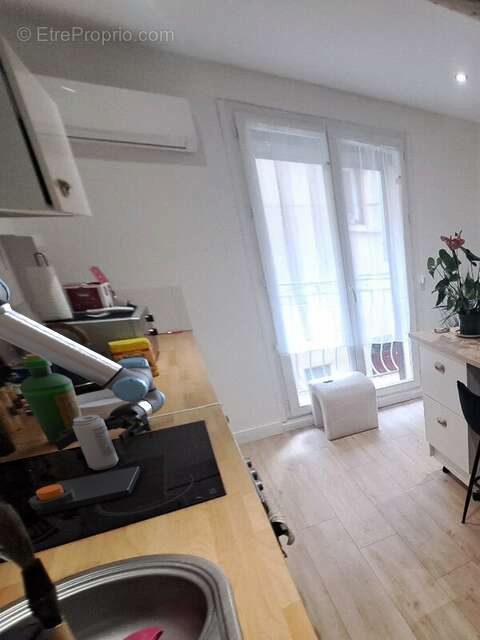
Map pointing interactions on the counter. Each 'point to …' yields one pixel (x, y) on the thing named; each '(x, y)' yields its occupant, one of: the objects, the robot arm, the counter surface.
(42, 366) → the bottle
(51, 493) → the tare button
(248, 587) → the counter surface
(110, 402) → the dish
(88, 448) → the energy drink can
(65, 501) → the scale
